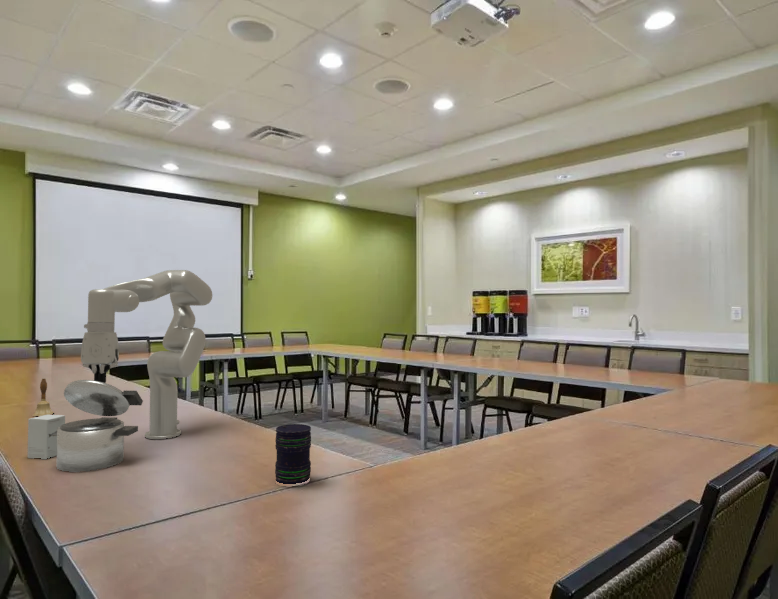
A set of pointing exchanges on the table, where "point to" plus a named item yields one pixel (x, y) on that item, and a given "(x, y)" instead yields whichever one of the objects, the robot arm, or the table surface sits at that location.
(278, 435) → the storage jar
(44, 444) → the supplement box
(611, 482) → the table surface
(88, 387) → the cooker lid
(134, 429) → the cooker pot
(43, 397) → the hand bell
